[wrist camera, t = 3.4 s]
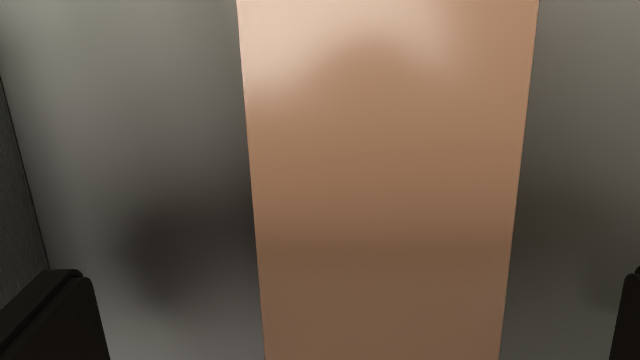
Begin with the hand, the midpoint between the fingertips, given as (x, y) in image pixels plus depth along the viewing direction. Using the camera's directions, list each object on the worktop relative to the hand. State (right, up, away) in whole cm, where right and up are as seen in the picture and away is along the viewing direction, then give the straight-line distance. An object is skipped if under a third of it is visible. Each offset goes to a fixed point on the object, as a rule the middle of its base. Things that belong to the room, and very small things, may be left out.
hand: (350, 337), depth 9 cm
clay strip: (+1, +1, +3) cm, 3 cm away
